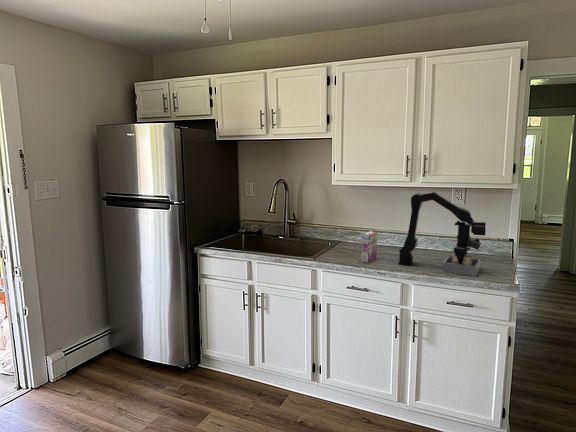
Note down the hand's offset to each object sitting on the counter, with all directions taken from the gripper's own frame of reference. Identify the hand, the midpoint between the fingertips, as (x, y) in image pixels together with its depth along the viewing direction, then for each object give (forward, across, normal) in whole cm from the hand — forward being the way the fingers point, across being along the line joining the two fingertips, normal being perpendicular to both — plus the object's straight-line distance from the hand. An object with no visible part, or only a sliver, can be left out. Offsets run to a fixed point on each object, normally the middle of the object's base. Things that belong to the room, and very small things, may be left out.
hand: (461, 262), depth 215 cm
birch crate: (+1, 0, 0) cm, 1 cm away
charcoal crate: (+4, 0, 0) cm, 4 cm away
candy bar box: (+4, -6, +49) cm, 49 cm away
